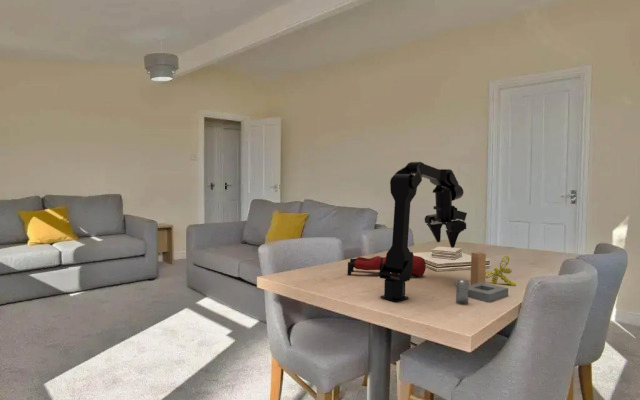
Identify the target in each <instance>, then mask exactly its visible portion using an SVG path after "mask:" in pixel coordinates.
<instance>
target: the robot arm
mask: <svg viewBox="0 0 640 400" xmlns="http://www.w3.org/2000/svg"><path fill="white" fill-rule="evenodd" d="M422 178H425V179H427V180H429V182H430V183H431V184H433V185H434V186H435V187H434V189H432V193H435V194H434V195H435V196H434V197H435V206H433V210H435V213H433V214H428V215H426V216H425V217H424V223H425V224H426V226H428V228H429V230H430V232H431V233H432V235H433V237H434V239H435V241H436V243H440V242H441V238H442V237H441V232H442V227H443V226H445V229H446V230H445V233H446V236H447V239H448V242H449V245H450V248H451V249H452V248H455V247H456V244H457V240H458V237H459V235H460V234H461V232H463V231H465V230H467V223H466V218H467V214H468V213H467V212H464V211H461V210H458V207H455V205H453V201H455V200H458V199H461V198H463V196H464V189H463V187H462V186H461V185H460V184H459V181H458V179H457V177H456V176H455V173H454V171H453V170H452V169H450V168H447V169H446V168H445V169H443V168H441V169H440V168H437V167H433V166H431V165H428V164H426V163H424V162H421V161H411V162H408V163H407V164H406V165H405V166H404V167H402V168H400V169H399V170H397V171H396V172H395V173H394V175H393V176H392V177H391V178H390V181H389V187H390V191H389V192H390V194H391V196H392V199H393V200H394V207H393V208H394V210H393V225H392V227H393V228H392V241H391V247H390V248H389V249H388V251H387V252H386V256H385V257H386V260H385V262H384V264H383V266H382V268H381V270H378V271H379V272H378V274H379V278H380V279H383V280H384V284H383V285H384V292H383V295H381V296H380V298H381V299H385V300H388V301H390V302H391V301H392V302H394V303H397V302H401V301H405V300H408V299H409V296H406V282H409V281H410V280H411V273H412V268H413V256H414V252H412V251H410V249H409V244H408V243H409V232H410V230H409V229H410V213H411V203H412V201H413V199H414V198H415V196H416V194H417V192H418V191H417V190H418V187H419V186H420V184H421V183H422V181H423V179H422ZM392 273H396V274H392ZM397 274H398V275H397Z"/></svg>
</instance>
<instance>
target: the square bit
mask: <svg viewBox="0 0 640 400" xmlns="http://www.w3.org/2000/svg"><path fill="white" fill-rule="evenodd" d="M470 256H471V257H470V260H471V261H470V285H473V284H476V283H480V282H481V283H486V278H485V276H486V275H485V272H486V268H487V267H486V264H487V257H486V256H487V254H486V253H484V252H479V251H476V252H471V255H470Z"/></svg>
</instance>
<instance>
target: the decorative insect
mask: <svg viewBox="0 0 640 400" xmlns="http://www.w3.org/2000/svg"><path fill="white" fill-rule="evenodd" d="M509 262H510V257H509V256H508V255H505V256H503V257H502V259H501V260H500V263H499V268H498V267H496V266H495V267H494V268H493V271H494V272H493V271H485V279H489V278H491V283H493V284H496V283H497V282H498V279H499V278H500V280H501V281H503V283H506V284H507V285H510V286H511V287H515V286H516V284H517V283H516V282H515V281H512V280H509V279H508V278H507V276H506V275H505V274H509V275H510V274H511V273H512V271H513V270H512V269H511V268H509V267H508V268H507V266H508V264H509ZM486 274H487V275H486Z"/></svg>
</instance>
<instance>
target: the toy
mask: <svg viewBox="0 0 640 400" xmlns="http://www.w3.org/2000/svg"><path fill="white" fill-rule="evenodd" d="M349 259H350V260H349V261H348V262H347V276H351V275H352V273H353V272H354V269H356V270H361V271H380V270H381V268H382V266H383V264H384V262H385V260H386V256H385V257H383V256H379V255H376V256H373V257H371V258H367V257H362V256H358V257H356V258H349ZM426 266H427V264H426V261H425V258H423V257H421V256H416V255H413V268H412V273H411V277H414V278H422V277H423V276H424V274H425V272H426V269H427V268H426ZM392 274H396V273H392ZM397 275H399V274H397ZM411 277H410V278H411Z"/></svg>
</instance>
